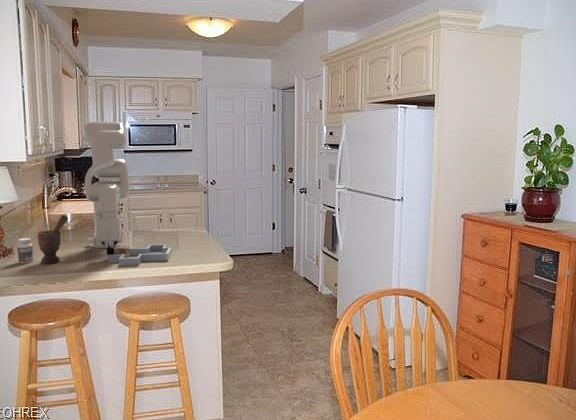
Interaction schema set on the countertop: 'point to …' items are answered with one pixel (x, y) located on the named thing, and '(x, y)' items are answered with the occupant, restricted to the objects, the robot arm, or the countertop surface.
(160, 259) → the box
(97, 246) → the robot arm
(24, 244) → the pill bottle
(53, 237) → the mortar and pestle
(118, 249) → the block
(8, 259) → the countertop surface
